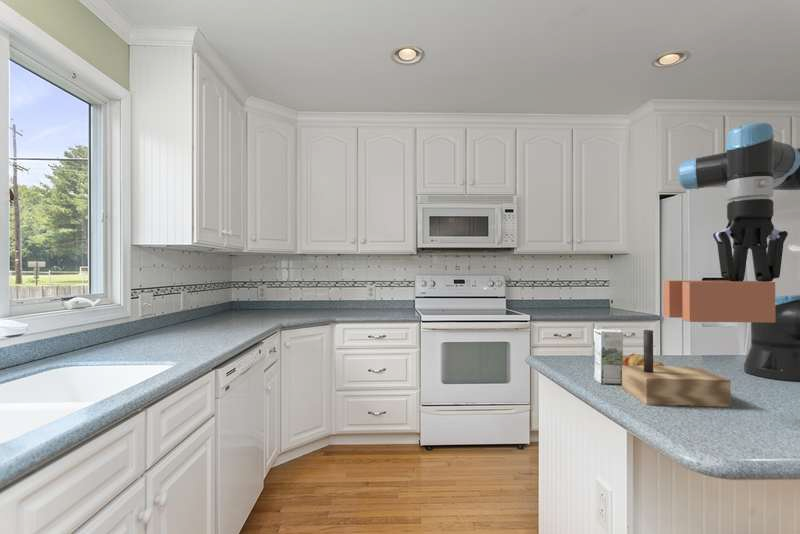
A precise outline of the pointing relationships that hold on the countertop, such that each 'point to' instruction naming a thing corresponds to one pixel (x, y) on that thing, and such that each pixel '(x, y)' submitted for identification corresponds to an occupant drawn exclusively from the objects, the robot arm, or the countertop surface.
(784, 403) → the countertop surface
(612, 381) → the syrup box
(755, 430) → the countertop surface
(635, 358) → the croissant
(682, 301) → the c link
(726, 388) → the stand
